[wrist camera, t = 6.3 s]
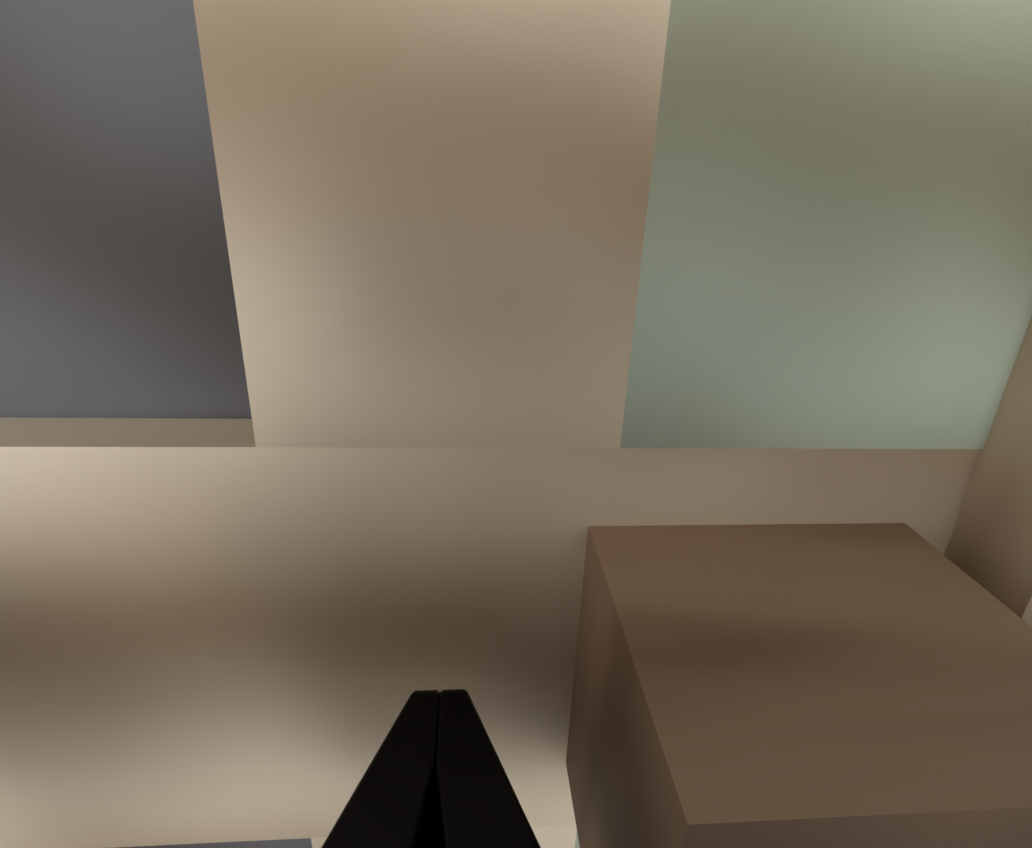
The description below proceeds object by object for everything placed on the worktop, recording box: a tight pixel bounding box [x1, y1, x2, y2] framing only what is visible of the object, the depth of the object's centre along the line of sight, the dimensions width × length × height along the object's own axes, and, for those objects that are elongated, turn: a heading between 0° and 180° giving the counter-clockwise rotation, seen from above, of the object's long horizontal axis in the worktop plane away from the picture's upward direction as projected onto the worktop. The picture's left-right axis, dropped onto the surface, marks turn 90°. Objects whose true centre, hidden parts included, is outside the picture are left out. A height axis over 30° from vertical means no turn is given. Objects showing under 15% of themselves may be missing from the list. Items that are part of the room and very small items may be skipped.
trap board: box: [0, 0, 1032, 848], centre depth 10 cm, size 22×19×3 cm
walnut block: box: [566, 523, 1032, 848], centre depth 8 cm, size 5×5×4 cm
